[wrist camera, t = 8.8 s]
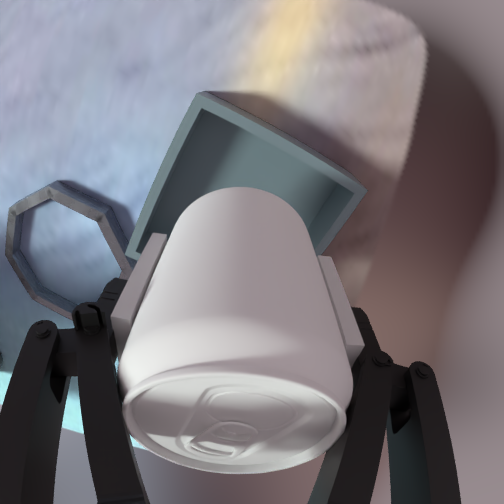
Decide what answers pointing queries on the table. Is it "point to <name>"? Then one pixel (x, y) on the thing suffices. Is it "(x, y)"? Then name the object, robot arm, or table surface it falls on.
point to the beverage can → (236, 342)
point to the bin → (244, 173)
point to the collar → (79, 204)
